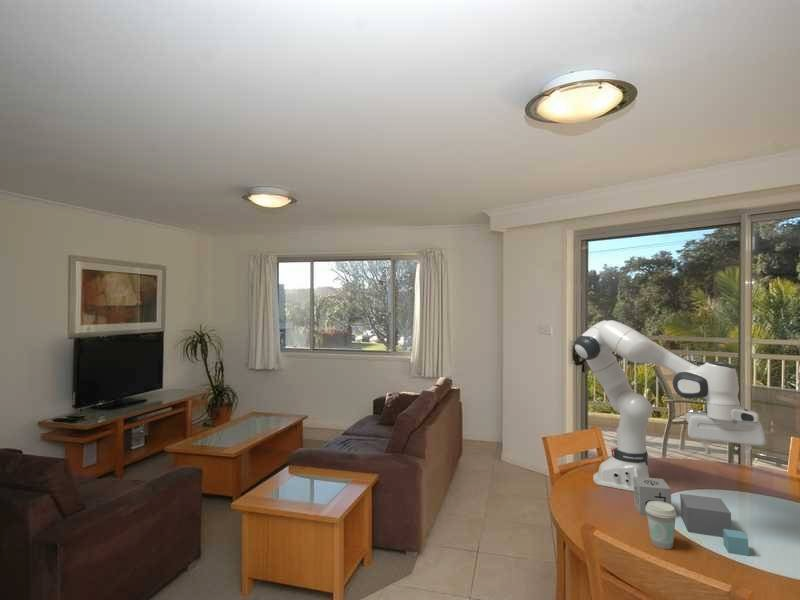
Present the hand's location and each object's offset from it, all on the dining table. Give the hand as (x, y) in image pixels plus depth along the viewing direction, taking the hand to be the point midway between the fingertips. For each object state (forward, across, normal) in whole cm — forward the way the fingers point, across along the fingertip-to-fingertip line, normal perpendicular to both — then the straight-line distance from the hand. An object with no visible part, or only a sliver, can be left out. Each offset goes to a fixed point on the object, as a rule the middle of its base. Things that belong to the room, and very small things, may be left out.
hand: (726, 455), depth 142 cm
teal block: (+26, +1, -8) cm, 27 cm away
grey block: (+26, -7, +5) cm, 27 cm away
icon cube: (+26, -23, +10) cm, 36 cm away
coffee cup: (+26, -18, -16) cm, 35 cm away
